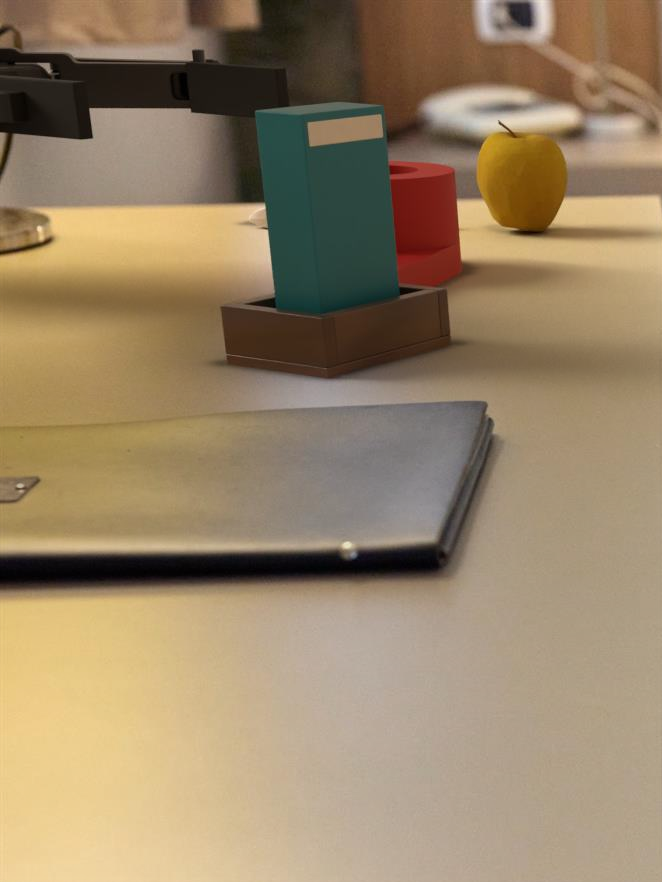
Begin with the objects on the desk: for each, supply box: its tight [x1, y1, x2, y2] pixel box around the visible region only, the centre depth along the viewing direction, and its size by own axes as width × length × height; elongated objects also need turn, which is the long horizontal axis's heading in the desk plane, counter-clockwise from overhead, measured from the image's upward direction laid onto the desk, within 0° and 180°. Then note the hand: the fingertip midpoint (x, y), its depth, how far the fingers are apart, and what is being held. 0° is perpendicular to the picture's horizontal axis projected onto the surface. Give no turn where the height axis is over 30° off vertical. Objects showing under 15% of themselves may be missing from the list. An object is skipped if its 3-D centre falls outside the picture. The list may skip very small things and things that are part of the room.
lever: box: [389, 160, 463, 287], centre depth 121 cm, size 18×9×7 cm, turn 10°
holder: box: [220, 283, 452, 380], centre depth 102 cm, size 10×7×3 cm
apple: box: [476, 119, 568, 233], centre depth 142 cm, size 6×6×8 cm
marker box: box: [255, 101, 400, 314], centre depth 100 cm, size 6×3×12 cm, turn 156°
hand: (189, 101), depth 101 cm, fingers open, 13 cm apart
